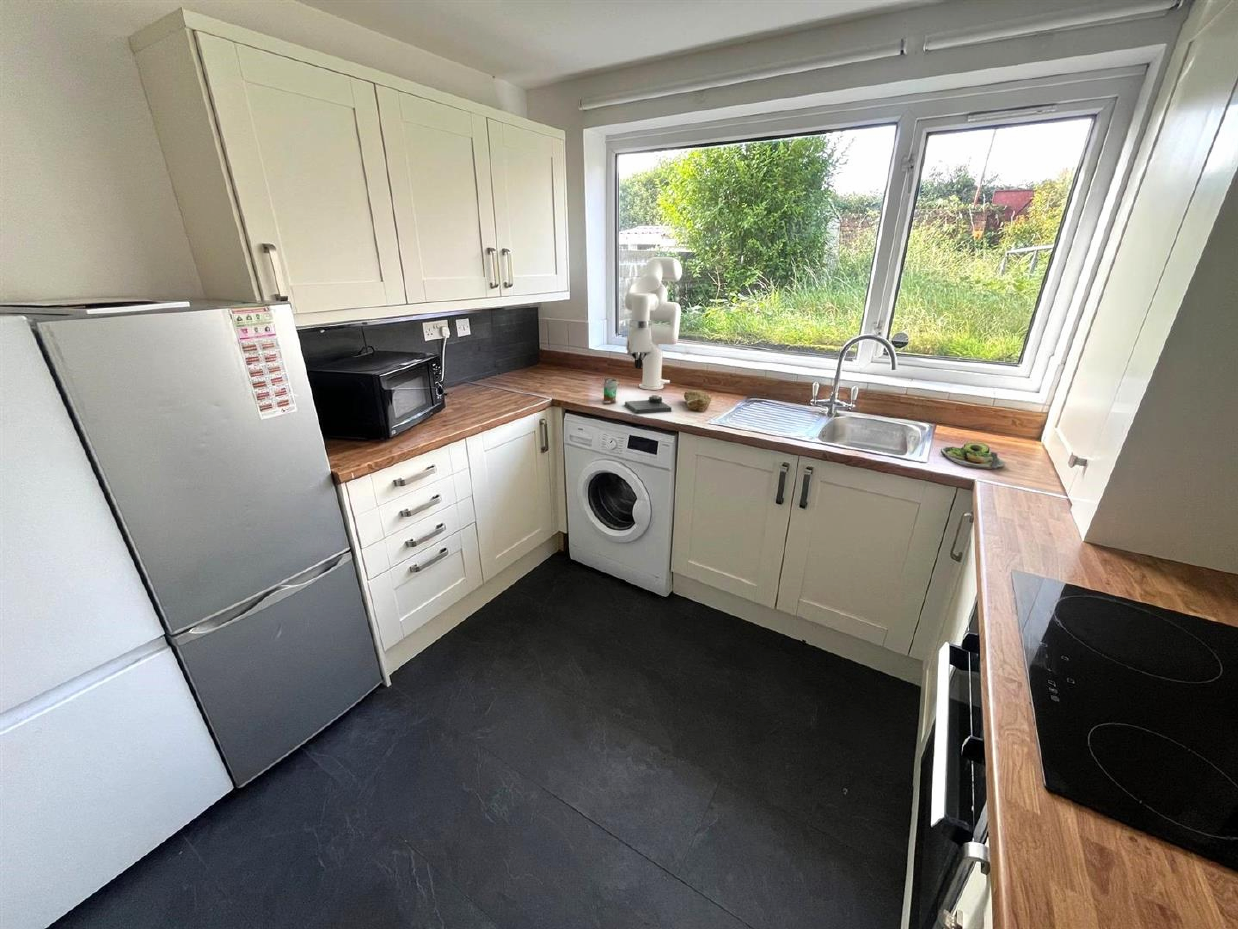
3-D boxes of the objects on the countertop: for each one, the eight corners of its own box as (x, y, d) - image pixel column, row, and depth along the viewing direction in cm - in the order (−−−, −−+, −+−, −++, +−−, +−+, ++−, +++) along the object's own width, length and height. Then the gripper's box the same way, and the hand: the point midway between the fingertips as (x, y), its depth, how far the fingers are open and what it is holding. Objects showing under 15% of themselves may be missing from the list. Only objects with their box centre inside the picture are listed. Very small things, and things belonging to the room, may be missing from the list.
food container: (617, 406, 218) (618, 383, 215) (603, 405, 218) (603, 382, 215) (618, 399, 230) (618, 377, 226) (604, 398, 230) (605, 377, 226)
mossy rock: (709, 415, 213) (714, 396, 229) (707, 399, 209) (712, 380, 225) (679, 417, 217) (686, 398, 233) (676, 401, 213) (684, 382, 229)
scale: (658, 403, 225) (658, 395, 224) (671, 411, 212) (672, 403, 211) (624, 405, 219) (624, 397, 218) (636, 414, 207) (636, 405, 206)
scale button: (657, 397, 222) (657, 393, 221) (659, 399, 219) (659, 395, 219) (651, 397, 221) (651, 394, 220) (653, 399, 219) (654, 395, 218)
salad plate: (1021, 475, 155) (1026, 461, 154) (959, 470, 158) (963, 456, 156) (989, 454, 173) (993, 442, 171) (934, 450, 176) (937, 437, 174)
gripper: (652, 323, 216) (650, 366, 223) (620, 324, 210) (619, 367, 217) (660, 325, 209) (657, 369, 216) (627, 326, 204) (625, 370, 211)
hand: (638, 368), depth 217 cm, fingers closed
